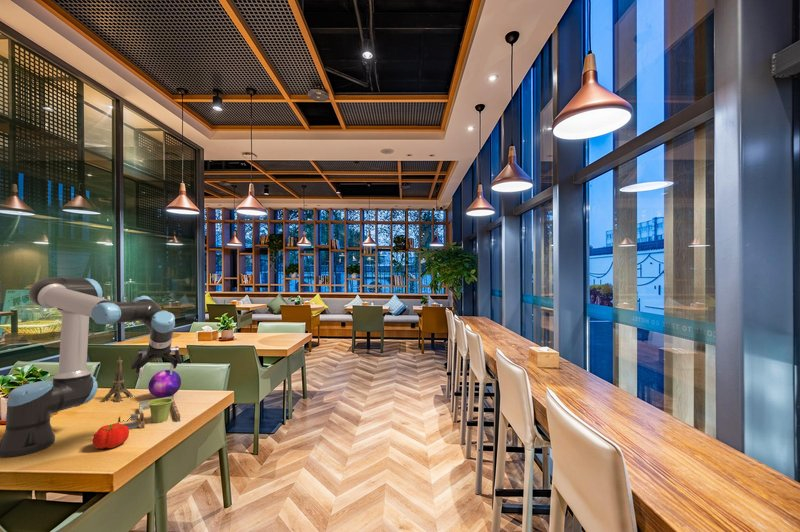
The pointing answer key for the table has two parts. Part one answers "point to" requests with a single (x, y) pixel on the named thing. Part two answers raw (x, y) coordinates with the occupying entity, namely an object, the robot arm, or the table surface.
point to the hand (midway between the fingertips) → (155, 373)
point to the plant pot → (160, 409)
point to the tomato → (110, 436)
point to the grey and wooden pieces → (146, 406)
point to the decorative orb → (164, 384)
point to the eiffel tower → (118, 385)
